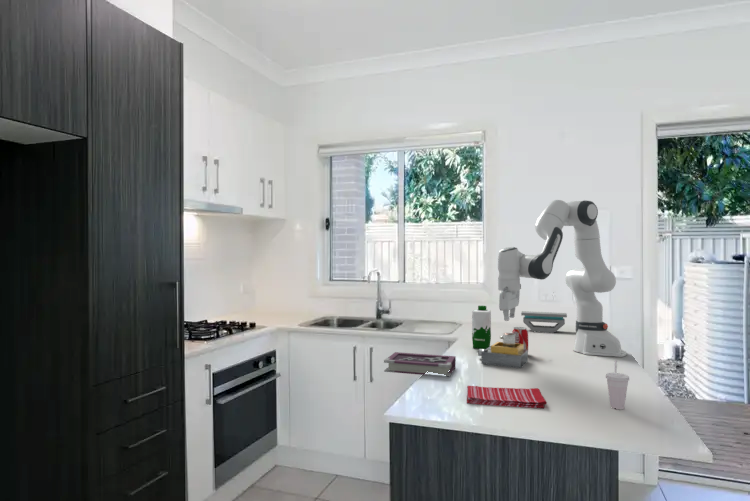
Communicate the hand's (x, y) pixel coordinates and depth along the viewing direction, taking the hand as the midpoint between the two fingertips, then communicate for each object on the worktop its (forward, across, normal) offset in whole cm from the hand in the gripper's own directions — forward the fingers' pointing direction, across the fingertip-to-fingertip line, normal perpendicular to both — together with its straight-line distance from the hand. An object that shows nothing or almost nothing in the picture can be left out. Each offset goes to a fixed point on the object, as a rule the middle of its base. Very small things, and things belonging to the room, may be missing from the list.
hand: (509, 319), depth 204 cm
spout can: (+13, 0, 0) cm, 13 cm away
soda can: (+19, +20, 0) cm, 27 cm away
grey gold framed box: (+18, -1, +4) cm, 19 cm away
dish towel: (+18, -51, -10) cm, 55 cm away
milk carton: (+19, +26, +20) cm, 38 cm away
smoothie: (+18, -44, -42) cm, 63 cm away
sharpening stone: (+20, +92, +2) cm, 95 cm away
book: (+18, -29, +28) cm, 45 cm away
